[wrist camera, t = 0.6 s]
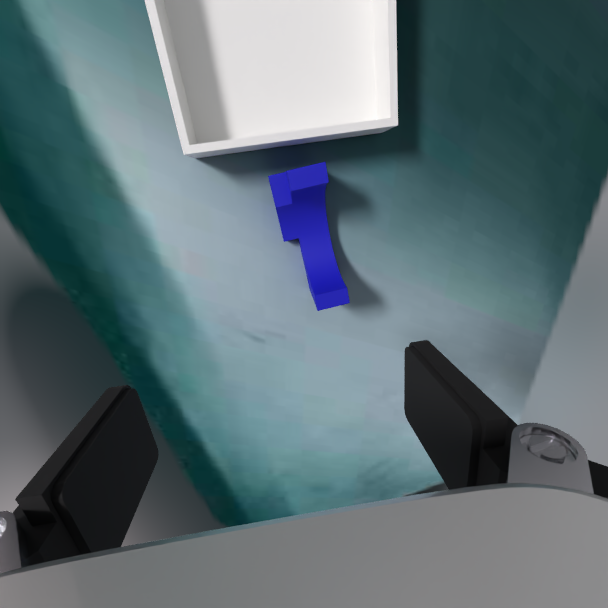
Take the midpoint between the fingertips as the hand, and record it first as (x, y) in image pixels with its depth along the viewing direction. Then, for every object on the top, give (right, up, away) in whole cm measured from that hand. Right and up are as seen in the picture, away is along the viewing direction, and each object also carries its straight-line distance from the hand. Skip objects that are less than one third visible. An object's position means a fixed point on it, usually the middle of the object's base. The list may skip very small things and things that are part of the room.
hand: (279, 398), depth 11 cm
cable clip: (+1, +11, +21) cm, 23 cm away
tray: (-2, +25, +14) cm, 29 cm away
